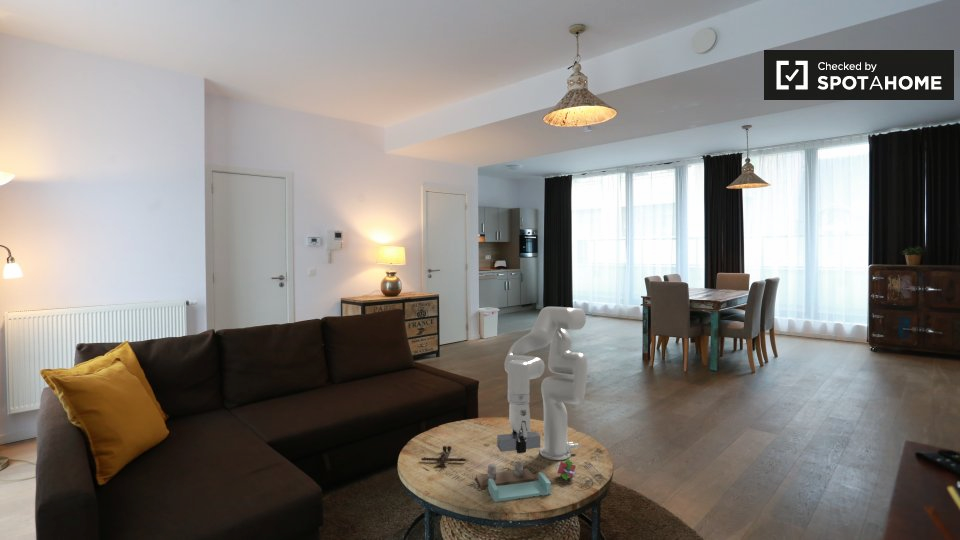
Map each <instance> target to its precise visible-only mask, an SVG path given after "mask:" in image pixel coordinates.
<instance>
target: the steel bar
mask: <svg viewBox="0 0 960 540" xmlns="http://www.w3.org/2000/svg"><path fill="white" fill-rule="evenodd" d="M496 436H497V437H496V439H497V440H496V441H497V444H496V446H497V448H498V449H499V451H500V452H502V453H505V452H512V451H517V441H518V439H517V433H513V434H512V433H506V434H497V435H496ZM520 436H522V434H520ZM529 449H530V450H531V449H541V435H540V434H539V433H538V432H537V431H530V432H527V438H526V450H529Z"/></svg>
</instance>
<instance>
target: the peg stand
mask: <svg viewBox="0 0 960 540" xmlns="http://www.w3.org/2000/svg"><path fill="white" fill-rule="evenodd" d="M513 465H514V466H513V468H514V470H513V469H512V470H505V471H497V465H496V464H495V463H492V464H491V463H490V464H488V465H487V473H481V474H476V475H475V476H476V477H475V478H476V480H477V482H478V484H479V486H480V488H481V489H485V488H488V479H493V480H494V482H495V484H496V486H503V485H511V484H518V483H526V482H534V481H536V478H535V476H534V475H533V473H532V472H531V471H530V470H529V468H523V467H524V466H523V462H522V461H520V460H517V461H514V464H513Z"/></svg>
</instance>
